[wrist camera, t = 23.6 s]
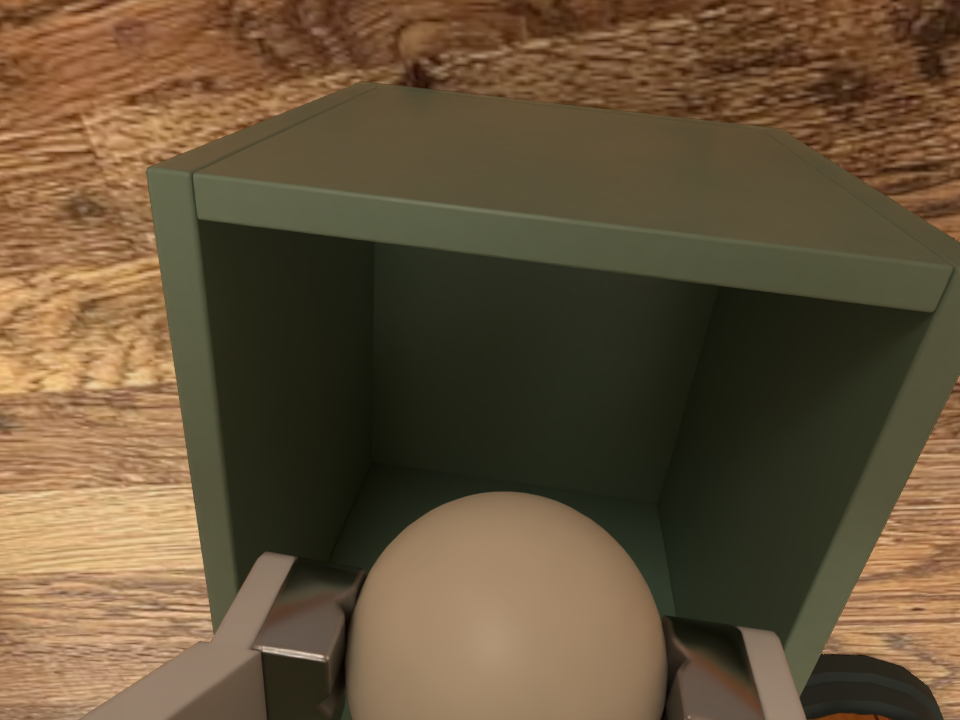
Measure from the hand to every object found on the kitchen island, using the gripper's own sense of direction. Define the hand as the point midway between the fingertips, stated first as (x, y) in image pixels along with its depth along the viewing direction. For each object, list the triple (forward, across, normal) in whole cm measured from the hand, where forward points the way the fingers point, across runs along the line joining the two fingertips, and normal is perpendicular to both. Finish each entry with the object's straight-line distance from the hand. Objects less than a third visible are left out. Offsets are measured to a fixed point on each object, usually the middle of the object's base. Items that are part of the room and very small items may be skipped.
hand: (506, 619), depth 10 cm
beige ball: (0, 0, 0) cm, 1 cm away
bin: (+16, 0, +3) cm, 17 cm away
